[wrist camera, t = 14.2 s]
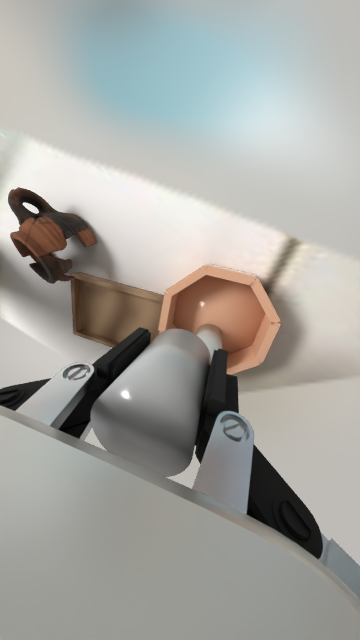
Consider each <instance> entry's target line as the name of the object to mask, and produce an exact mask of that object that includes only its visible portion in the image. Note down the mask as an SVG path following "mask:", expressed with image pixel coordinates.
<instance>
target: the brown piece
mask: <svg viewBox="0 0 360 640" xmlns="http://www.w3.org/2000/svg"><path fill="white" fill-rule="evenodd" d="M8 202H9V205H10V207H11V209H12V211H13V212H14V214H15V215H16V216H17V218H18V220H19V224H20V227H19V231H17V232H12V233H11V234H10V237H11V239H12V241H13V243H14V245H15V247H16V248H17V250H18V251H19V253H20V254H21V255H22V257H26V256H29V255H30V256H31V257H32V258H33V260H34V261H35V262H36V263H32V264H29V265H30V267H31V268H32V269H33V270H34V271H35V272H36V273H37V274H38V275H39V276H40V277H42V278H43V279H44V280H46V281H47V282H49V283H52V284H54V283H55V282H56V281H58V280H60V281H69V280H72V279H75V277H74V276H67V275H64V274H65V273H67V272H68V270H69V269H71V268H72V261H71V260H70V259H68V260H63V259H60V258H57V257H55V256H53V255H52V254H51V253H53V252H56V251H59V250H63V249H64V248H65V247H66V245H67V241H66V239H68V238H69V237H71V236H72V235H77V236H78V237H79V238H80V240H81V242H82V243H83V245H84V247H89V246H91V245H93V244H95V243H96V239H95V237H94V235H93V233H92V232H91V230H90V229H89V228H88V226H87V225H86V223H85V222H84V221H83V220H82V219H81V218H80V217H78V216H77V215H74V214H68V213H62V212H58V211H56V210H55V209H53V208H52V207H51V206H50V205H49V204H48V203H47V202H46V201H45V200H44V199H43V198H42V197H40V196H39V195H37V194H36V193H34V192H32V191H30V190H27V189H22V188H19V187H18V188H17V189H15V190H11V191H10V193H9V196H8ZM23 202H26V203H30V204H32V205H33V206H35V207H36V208H37V209H38V210H39V213H38V214H35V213H32V212H31V211H29V210H28V209H26V208H25V207H24V206H23V204H22V203H23Z"/></svg>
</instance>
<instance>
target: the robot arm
mask: <svg viewBox="0 0 360 640" xmlns="http://www.w3.org/2000/svg"><path fill="white" fill-rule="evenodd" d="M150 340H151V332H149V330H148V329H145V328H141V327H139V328H138V329H136V330H135V331H134V332H133V333H131V334H130V335H129V336H128V337H126V338H125V339H124V340H122V341H121V342H120V343H119V344H117V345H116V346H115V347H113V348H112V349H111V350H110V351H108V352H107V353H106V354H105V355H103V356H102V357H101V358H99V359H98V360H97V361H96V362H95V363H93V364H92V365H91V364H89V363H86V362H78V363H73V364H70V365H68V366H66V367H64V368H63V369H62V370H60V372H58V373H57V374H56V375H55V376H54V377H53V378H50V379H45V380H40V381H34V382H29V383H24V384H19V385H14V386H9V387H5V388H2V389H0V640H360V566H359V565H358V564H357V563H356V562H355V561H354V560H353V559H352V558H351V557H350V556H349V555H348V554H347V553H346V552H345V551H344V550H343V549H342V548H341V547H340V546H339V545H338V544H337V543H336V542H335V541H334V540H333V539H331V540H327V538H326V537H325V536H324V535H323V534H322V533H321V532H320V529H319V526H318V524H317V523H316V521H315V519H314V517H313V515H312V514H311V512H310V511H309V510H308V508H307V507H306V505H305V504H304V503H303V502H302V501H301V500H300V498H299V497H298V496H297V495H296V494H295V492H294V491H293V490H292V489H291V488H290V487H289V486H288V484H287V483H286V482H285V481H284V480H283V478H282V477H281V476H280V475H279V473H278V472H277V471H276V470H275V469H274V468H273V466H272V465H271V464H270V463H269V462H268V461H267V459H266V458H265V457H264V456H263V455H262V453H261V452H260V451H259V450H258V449H257V447H256V446H255V445H254V431H253V429H252V426H251V425H250V423H249V422H248V421H247V420H246V419H245V418H244V417H243V416H241V415H240V414H239V409H238V381H237V377H236V376H233V375H229V374H227V357H228V351H227V350H223V349H219V348H218V351H217V350H214V353H213V356H212V360H211V364H210V369H209V374H208V378H207V383H206V388H205V393H204V398H203V403H202V408H201V413H200V418H199V426H198V431H197V436H196V441H195V445H196V451H195V454H196V457H197V459H198V460H199V462H200V464H201V465H200V467H199V470H198V473H197V476H196V479H195V482H194V485H193V488H192V489H190V488H188V487H186V486H184V485H182V484H179V483H177V482H175V481H172V480H170V479H168V478H166V477H164V476H161V475H159V474H157V473H155V472H152V471H150V470H148V469H146V468H144V467H141V466H139V465H137V464H135V463H132V462H130V461H128V460H126V459H123V458H121V457H119V456H117V455H114V454H112V453H110V452H107V451H105V450H103V449H101V448H98V447H96V446H94V445H91V444H89V443H87V442H85V441H84V440H85V438H86V436H87V435H88V433H89V431H90V430H91V428H92V424H91V409H92V406H93V404H94V402H95V401H96V400H97V399H98V398H99V397H100V396H101V394H102V393H103V392H104V391H105V390H106V389H107V388H108V387H109V386H110V385H111V384H112V383H113V382H114V381H115V380H116V379H117V378H118V377H119V376H120V375H121V373H122V372H123V371H124V370H125V369H126V368H127V367H128V366H129V365H130V364H131V363H132V362H133V361H134V360H135V359H136V358H137V357H138V356H139V355H140V354H141V352H142V351H143V350H144V349H145V348H146V347H147V346H148V345H149V344H150Z"/></svg>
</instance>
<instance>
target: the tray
mask: <svg viewBox="0 0 360 640" xmlns="http://www.w3.org/2000/svg"><path fill="white" fill-rule="evenodd" d="M70 274H71V276H74V277H75V279H72V280H71V293H72V313H73V333H74V334H75V335H78V336H81V337H84V338H87V339H90V340H93V341H96V342H99V343H102V344H104V345H107V346H110V347H115V346H116V345H117V344H119V343H120V342H121V341H122V340H124V339H125V338H126V337H128V336H129V335H130V334H131V333H133V332H134V331H135V330H136V329H138V328H139V327H141V328H145V329H148V330H149V332H151V340H150V343H151V342H152V341H153V340H154V339H155V338H156V337H157V336H158V335H159V332H160V331H159V330H158V328H159V322H160V316H161V311H162V305H163V299H164V295H161V294H157V293H153V292H150V291H146V290H142V289H139V288H135V287H132V286H128V285H124V284H121V283H117V282H113V281H110V280H106V279H102V278H99V277H95V276H91V275H88V274H84V273H81V272H77V273H70Z"/></svg>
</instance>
